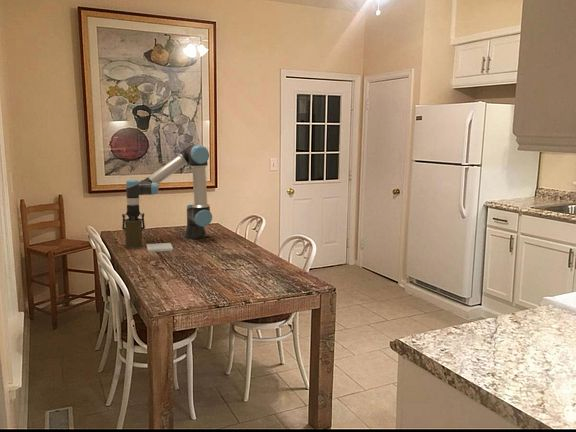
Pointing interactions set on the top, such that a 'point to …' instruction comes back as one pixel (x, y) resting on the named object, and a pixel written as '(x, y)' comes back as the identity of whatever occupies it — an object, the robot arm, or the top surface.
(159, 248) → the trivet
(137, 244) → the canister
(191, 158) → the robot arm
